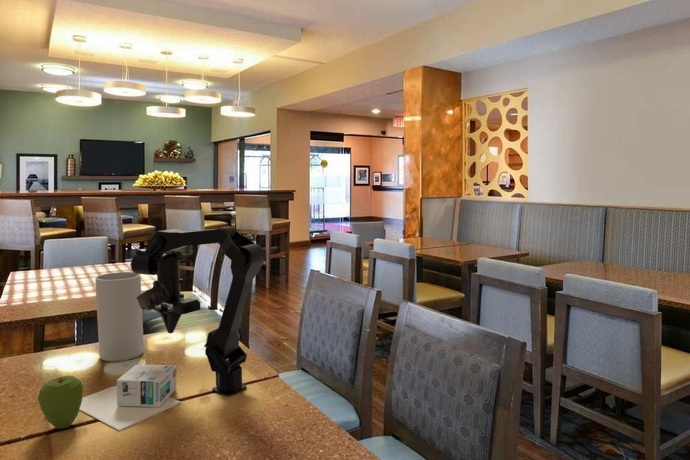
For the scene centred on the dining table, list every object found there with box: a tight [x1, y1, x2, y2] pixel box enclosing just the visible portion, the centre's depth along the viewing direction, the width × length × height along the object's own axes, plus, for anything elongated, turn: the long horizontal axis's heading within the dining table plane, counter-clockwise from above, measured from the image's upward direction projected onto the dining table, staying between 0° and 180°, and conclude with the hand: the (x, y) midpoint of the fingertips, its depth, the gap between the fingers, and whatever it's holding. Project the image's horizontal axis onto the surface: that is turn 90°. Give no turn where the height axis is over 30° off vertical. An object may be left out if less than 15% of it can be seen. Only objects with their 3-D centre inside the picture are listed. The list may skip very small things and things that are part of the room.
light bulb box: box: [116, 363, 178, 407], centre depth 120 cm, size 11×7×11 cm
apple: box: [37, 375, 84, 430], centre depth 107 cm, size 9×8×12 cm
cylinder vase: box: [94, 271, 145, 363], centre depth 149 cm, size 12×12×25 cm
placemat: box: [79, 384, 182, 432], centre depth 118 cm, size 22×16×1 cm
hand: (170, 332), depth 131 cm, fingers closed
